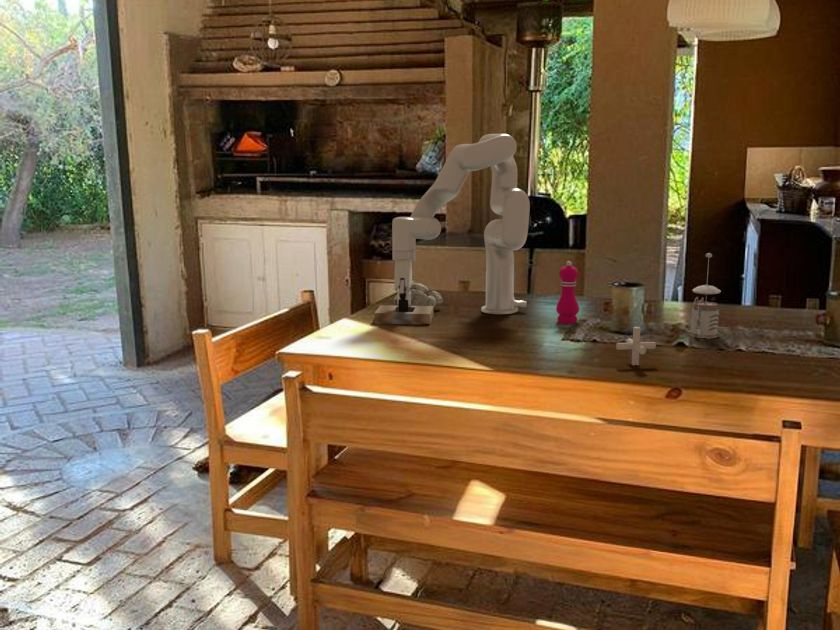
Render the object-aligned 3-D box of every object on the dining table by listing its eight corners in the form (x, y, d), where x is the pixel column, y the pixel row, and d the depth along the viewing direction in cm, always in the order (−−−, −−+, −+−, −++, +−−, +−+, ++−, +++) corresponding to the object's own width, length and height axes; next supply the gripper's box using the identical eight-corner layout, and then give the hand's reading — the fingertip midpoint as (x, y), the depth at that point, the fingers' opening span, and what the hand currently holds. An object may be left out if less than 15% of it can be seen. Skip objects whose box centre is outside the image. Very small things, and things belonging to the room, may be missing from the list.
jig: (433, 316, 279) (433, 306, 278) (430, 324, 266) (430, 313, 266) (380, 315, 281) (380, 305, 280) (374, 323, 268) (374, 313, 267)
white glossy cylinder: (411, 311, 275) (411, 290, 274) (410, 314, 271) (410, 293, 269) (398, 311, 275) (398, 290, 274) (396, 314, 271) (396, 292, 270)
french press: (726, 335, 250) (732, 252, 245) (709, 341, 242) (715, 256, 237) (695, 330, 257) (700, 249, 252) (678, 336, 248) (683, 253, 243)
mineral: (437, 307, 282) (442, 279, 285) (388, 302, 286) (393, 275, 288) (443, 318, 294) (447, 291, 296) (396, 313, 297) (400, 287, 300)
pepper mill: (553, 323, 267) (555, 262, 263) (558, 319, 273) (560, 259, 269) (575, 325, 264) (578, 263, 260) (580, 320, 271) (582, 260, 267)
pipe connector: (610, 360, 222) (612, 323, 220) (646, 359, 223) (648, 322, 221) (622, 370, 212) (624, 332, 210) (660, 369, 213) (662, 331, 211)
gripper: (395, 251, 278) (396, 305, 281) (389, 258, 261) (389, 315, 265) (418, 252, 277) (418, 305, 281) (412, 259, 261) (412, 315, 264)
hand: (404, 309), depth 273 cm, fingers closed on white glossy cylinder, 4 cm apart
